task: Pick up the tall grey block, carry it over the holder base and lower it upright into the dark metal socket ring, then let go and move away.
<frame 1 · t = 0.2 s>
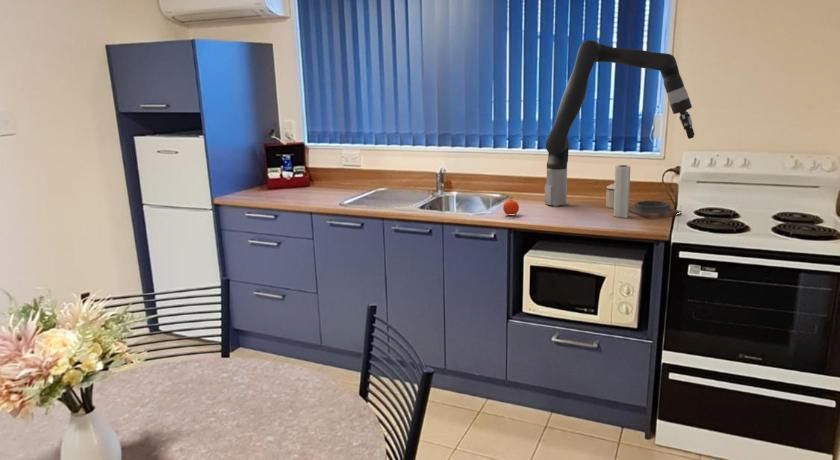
hand: (691, 137, 244), 31 cm above the table, tool tilted 20°, fingers open, 8 cm apart
tall grey block: (620, 216, 247), on the table
holder base: (651, 212, 250), on the table
tomato: (510, 215, 259), on the table
teacup with lid: (615, 206, 267), on the table
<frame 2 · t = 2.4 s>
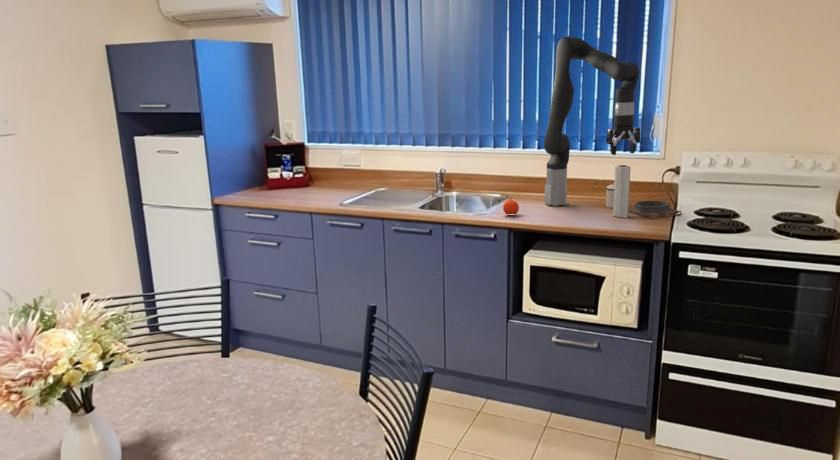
hand: (622, 153, 241), 26 cm above the table, tool pointing down, fingers open, 8 cm apart
nothing on the table moved.
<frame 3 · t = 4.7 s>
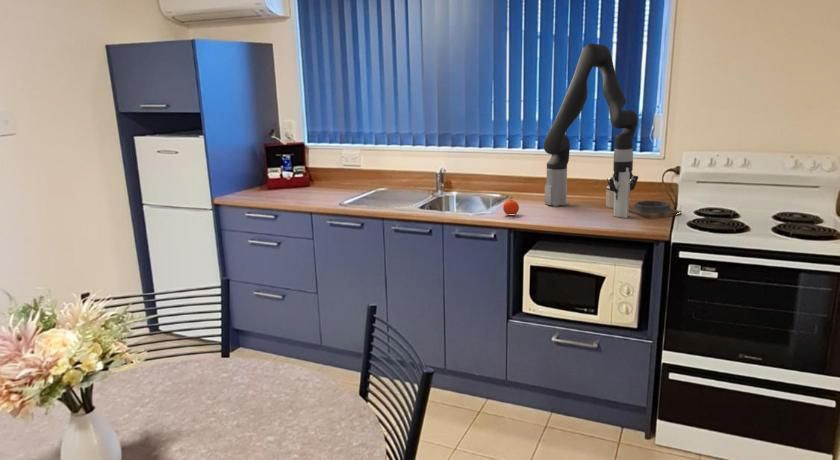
hand: (621, 200, 245), 7 cm above the table, tool pointing down, fingers closed on tall grey block, 3 cm apart
tall grey block: (620, 216, 247), on the table, touching gripper
everything else where it was.
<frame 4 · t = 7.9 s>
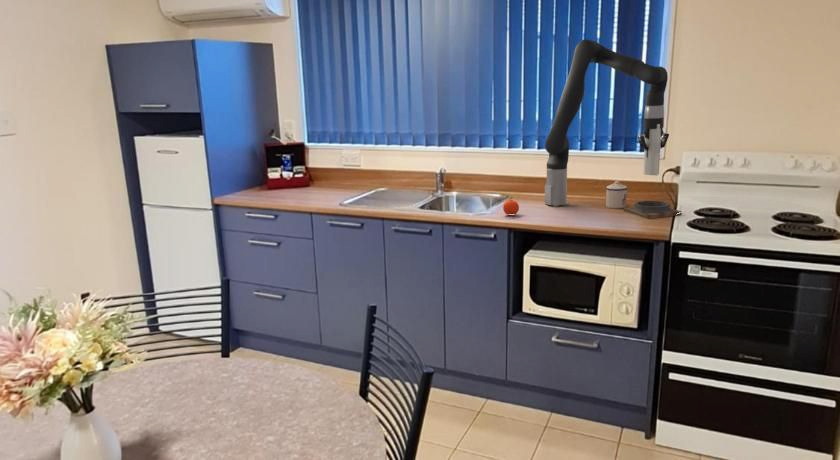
hand: (652, 158, 244), 23 cm above the table, tool pointing down, fingers closed on tall grey block, 3 cm apart
tall grey block: (650, 175, 246), point 16 cm above the table, touching gripper
everything else where it was.
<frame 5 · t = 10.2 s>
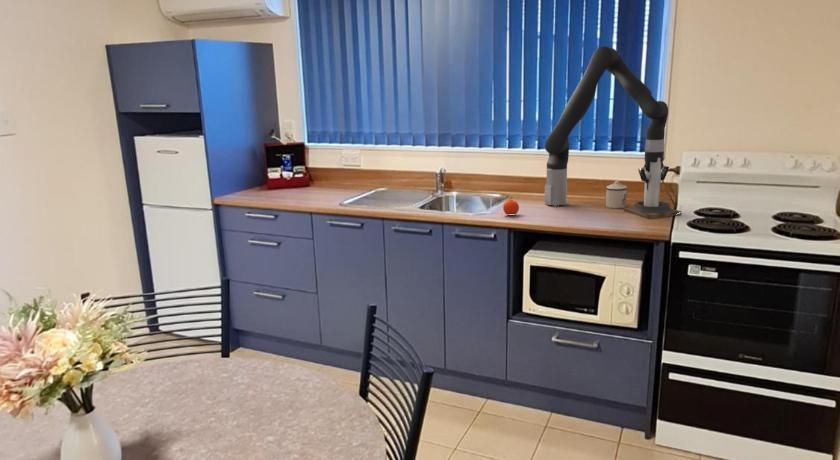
hand: (652, 190, 248), 10 cm above the table, tool pointing down, fingers closed on tall grey block, 3 cm apart
tall grey block: (650, 206, 250), point 3 cm above the table, touching gripper
everything else where it was.
when the fingers open (10 cm above the table, at t = 11.1 s): tall grey block drops 1 cm, resting on holder base.
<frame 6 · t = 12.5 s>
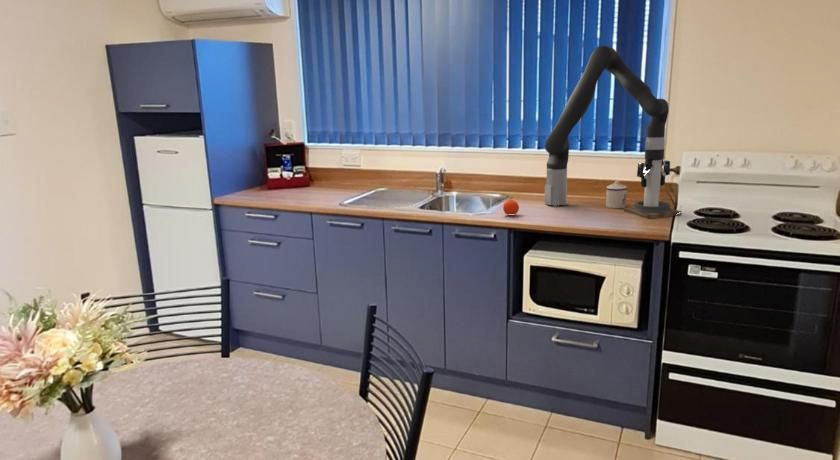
hand: (652, 186, 248), 12 cm above the table, tool pointing down, fingers open, 8 cm apart
tall grey block: (650, 209, 250), point 1 cm above the table, touching holder base
everything else where it was.
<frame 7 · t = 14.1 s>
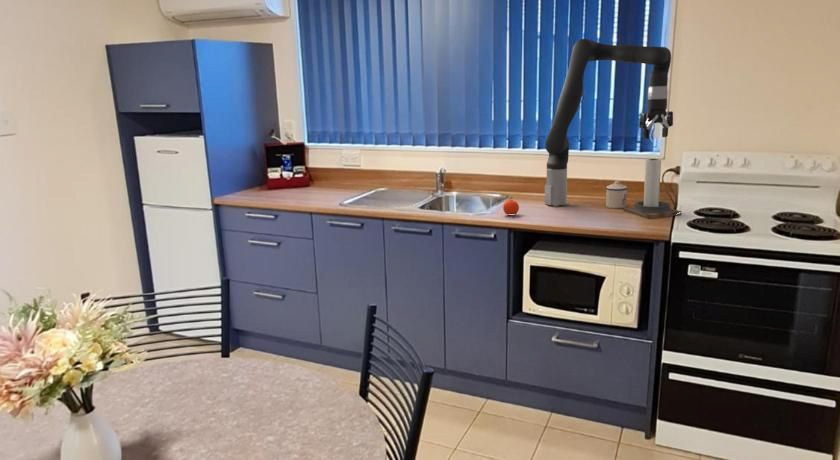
hand: (655, 137, 243), 32 cm above the table, tool pointing down, fingers open, 8 cm apart
nothing on the table moved.
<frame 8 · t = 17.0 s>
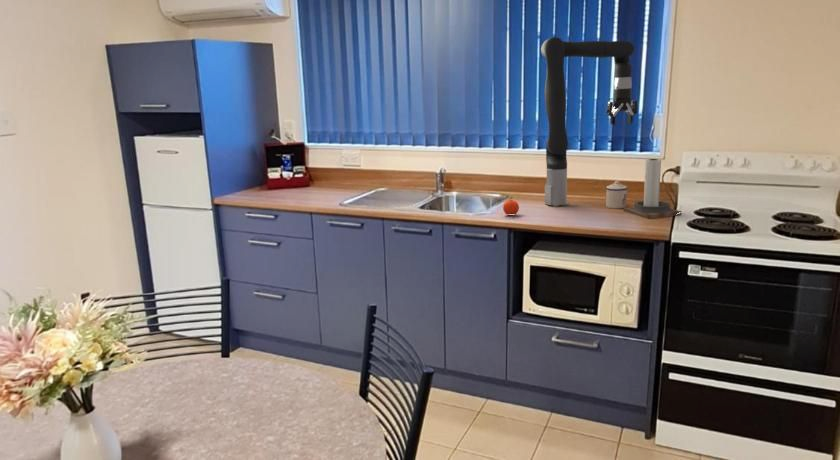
hand: (621, 124, 267), 36 cm above the table, tool pointing down, fingers open, 8 cm apart
nothing on the table moved.
at the end: tall grey block 0.5 cm off-centre on the holder base, point 1.3 cm above the holder base's base; tall grey block tilted 0°; the gripper is holding nothing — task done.
